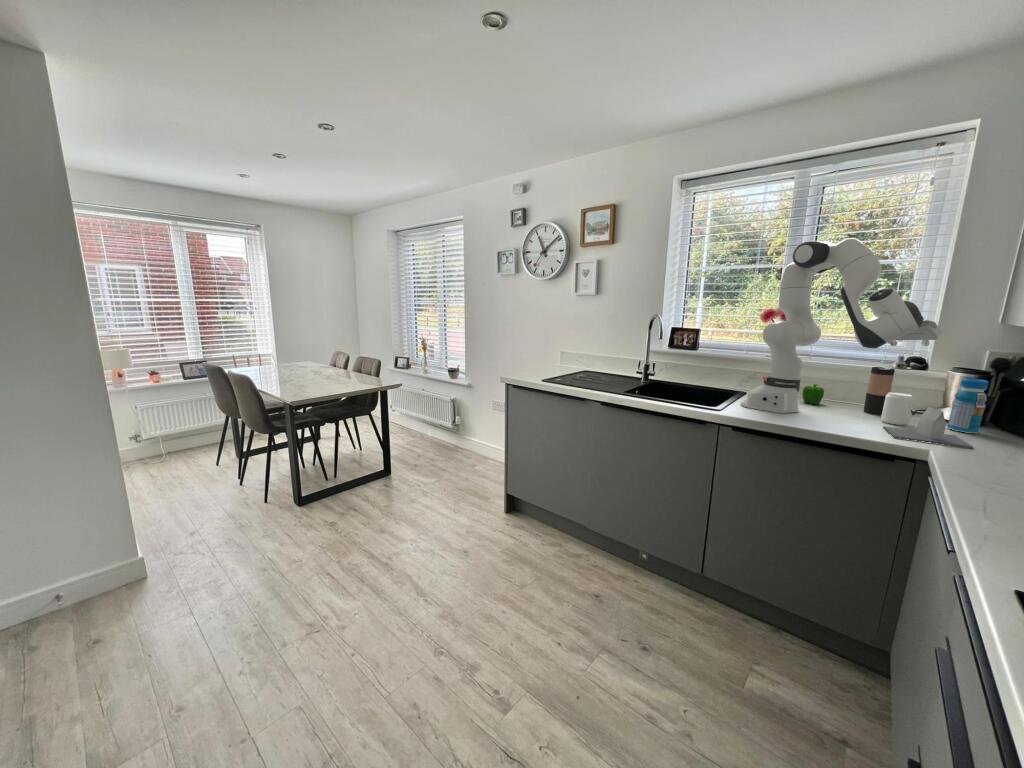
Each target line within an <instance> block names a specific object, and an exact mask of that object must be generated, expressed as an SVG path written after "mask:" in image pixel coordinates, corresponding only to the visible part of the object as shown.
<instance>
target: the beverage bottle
mask: <svg viewBox="0 0 1024 768" xmlns="http://www.w3.org/2000/svg"><path fill="white" fill-rule="evenodd" d="M988 386H989V380H984V379H980V378H965V377H964V378H962V379H961V381H960V388H961V389H959V390H958V391H957V392H956V393H955V395H954V397H955V399H954V400H953V401H952V405H951V406H952V407H951V410H950V414H949V419H948V423H947V425H946V428H947V429H948V428H949V429H948V430H950V429H952V430H956V431H961V432H968V433H977V434H978V433H979V432H980V426H981V423H982V420H983V415H984V413H985V410H986V408H987V404H986V402H987V401H988V397H987V394H986V393H985V391H987V389H988ZM952 430H951V431H952ZM956 431H955V432H956ZM961 432H960V433H961Z"/></svg>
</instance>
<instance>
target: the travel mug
mask: <svg viewBox="0 0 1024 768" xmlns="http://www.w3.org/2000/svg"><path fill="white" fill-rule="evenodd" d="M895 370H896V369H895V368H890V369H888V368H885V367H882V366H872V367H871V370H870V375H869V380H868V384H867V389H866V394H865V400H864V405H863V412H864V413H866V414H868V415H869V414H870V415H874V414H876V415H875V416H882V412H883V407H884V402H885V398H886V395H887V394H888V393H889V392H891V391H892V385H893V382H894V381H893V380H894V375H895Z"/></svg>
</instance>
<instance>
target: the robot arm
mask: <svg viewBox="0 0 1024 768" xmlns="http://www.w3.org/2000/svg"><path fill="white" fill-rule="evenodd" d="M835 268H836V269H837V270H838V272H839V273H840V275H841V277H842V279H843V282H842V283H843V284H842V286H841V287H840V289H839V291H840V295H841V296H840V297H841V298H842V301H843V305H844V307H845V309H846V312H847V314H848V317H849V320H850V322H851V324H852V327H853V330H854V336H855V339H856V341H857V342H858V344H859V345H861V346H862V348H866V349H877V348H880V347H882V346H884V345H886V344H889V345H890V346H891V347H895V346H897V345H898V341H922V342H920V343H921V344H920V345H921V346H922V347H928V346H929V345H930V341H936V340H938V339H939V338H940V337H941V336H942V332H943V331H942V329H941V328H940V327H939V326H938V324H937V323H936V321H932V320H929V319H924V317H923V315H922V312H921V311H920V309H919V307H918V306H917V305H916V304H915V303H914V302H912V301H908V300H903V298H902V297H901V296H900V294H899V293H898V292H897V290H895V289H894V288H892V287H885V288H880V289H878V290H877V291H876V290H875V292H872V294H870V295H869V296H868V299H867V300H868V304H869V308H870V310H871V311H872V313H873V315H874V316H872V317H871V318H870V319H866V318H865V316H864V313H863V312H862V308H861V306H860V301H859V300H860V298H862V295H863V294H864V293H865V292H866V291H867V290H868V289H870V287H872V286H873V285H874V284H875V283H876V282H877V280H878V279H879V277H880V276H881V273H882V270H883V266H882V264H881V262H880V260H879V259H878V257H877V255H876V254H874V252H873V251H872V250H871V249H870V247H868V246H867V245H866V244H865V243H863V241H861V240H859V239H858V238H855V237H850V238H849V237H848V238H846V239H843V240H841V241H839V242H838V243H834V242H831V241H826V240H820V241H819V240H808V241H807V240H806V241H804V242H802V243H799V244H798V245H797V246H796V248H794V251H793V253H792V262H791V263H789V264H787V265H786V266H784V268H783V271H782V275H781V280H780V286H779V297H778V309H779V310H780V311H781V312H783V314H784V316H785V321H783V320H780V321H776V322H775V321H774V322H772V323H769V324H767V325H766V326H765V327H764V328H763V331H762V340H763V341H764V343H765V344H767V346H768V348H769V351H770V354H771V367H770V375H769V376H767V375H764V376H762V380H763V384H761V385H758V386H757V387H755V388H753V389H751V390H749V392H748V394H747V396H746V399H743V400H741V401H740V406H742V407H744V408H748V409H753V410H760V411H765V412H766V411H767V412H773V413H780V414H787V413H798V412H800V409H799V399H798V398H799V392H800V388H801V383H802V382H801V373H802V366H803V361H802V359H801V358H800V357H799V356H798V355H797V347H807V346H810V345H814V344H815V343H817V342H818V341H819V339H821V336H822V331H821V327H820V326H819V325H818V324H817V323H816V322H815V320H814V318H813V314H812V309H811V297H812V296H811V294H812V282H813V281H812V280H813V277H814V275H815V274H822V273H825V272H827V271H830V270H833V269H835Z"/></svg>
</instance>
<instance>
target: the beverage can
mask: <svg viewBox="0 0 1024 768" xmlns="http://www.w3.org/2000/svg"><path fill="white" fill-rule="evenodd" d="M913 402H914V397H913V394H909V393H905V392H897V391H896V392H894V391H893V392H891V391H890V392H889V393H888V394H887V395H886V398H885V402H884V407H883V412H882V415H880V420H881V421H882V422H883V423H885V422H886V423H885V424H888V423H890V424H889V425H893V424H896V425H895V426H906V425H908V424H909V421H910V416H911V411H912V408H913V404H914V403H913Z"/></svg>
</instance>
